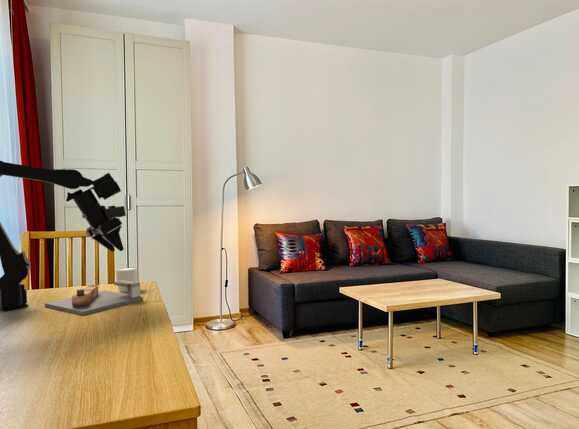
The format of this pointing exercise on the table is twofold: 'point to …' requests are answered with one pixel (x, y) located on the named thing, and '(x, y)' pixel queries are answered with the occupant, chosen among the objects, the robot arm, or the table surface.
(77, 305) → the link
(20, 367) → the table surface
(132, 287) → the keeper
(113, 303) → the board
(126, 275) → the white pedestal piece
